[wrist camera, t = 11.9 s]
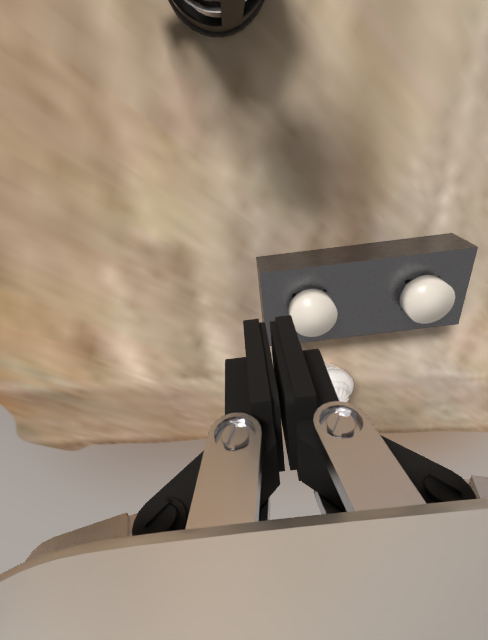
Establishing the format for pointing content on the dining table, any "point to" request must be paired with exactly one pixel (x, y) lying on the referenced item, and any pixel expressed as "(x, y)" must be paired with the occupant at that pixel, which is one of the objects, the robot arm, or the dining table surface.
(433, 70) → the dining table surface
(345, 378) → the white ribbed round lump
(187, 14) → the french press
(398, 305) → the mount
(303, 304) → the knob
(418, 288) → the knob
